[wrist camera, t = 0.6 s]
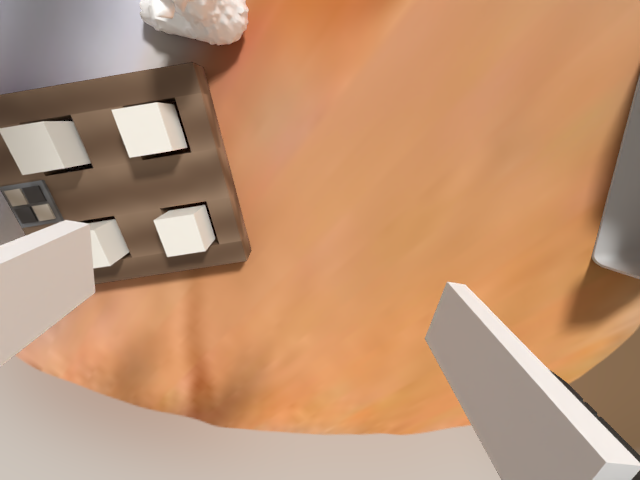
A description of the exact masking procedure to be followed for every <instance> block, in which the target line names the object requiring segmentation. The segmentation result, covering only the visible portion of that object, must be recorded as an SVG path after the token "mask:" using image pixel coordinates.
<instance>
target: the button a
mask: <svg viewBox="0 0 640 480" xmlns="http://www.w3.org/2000/svg"><path fill="white" fill-rule="evenodd" d="M0 133H1V135H2V137H3V139H4V141H5V143H6V145H7V147H8V148H9V150H10V152H11V154H12V156H13V158H14V160H15V162H16V164H17V166H18V168H19V169H20V171H21V173H22V175H27V174H33V173H39V172H45V171H51V170H58V169H64V168H69V167H74V166H79V165H85V164H90V163H91V161H90V159H89V157H88V154H87V152H86V150H85V147H84V145H83V143H82V140H81V138H80V136H79V133H78V131H77V129H76V126H75V124H74V122H73V121H42V122H36V123H30V124H24V125H18V126H12V127H6V128H0Z"/></svg>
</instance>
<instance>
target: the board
mask: <svg viewBox="0 0 640 480" xmlns="http://www.w3.org/2000/svg"><path fill="white" fill-rule="evenodd" d="M175 101H176V103H177V106H178V110H179V113H180V116H181V120H182V123H183V126H184V129H185V133H186V136H187V139H188V143H189V146H190V149H191V152H185V153H179V154H173V155H166V156H160V157H156V154H150V155H144V156H137V157H131V158H129V155H128V153H127V150H126V147H125V145H124V142H123V139H122V137H121V134H120V132H119V129H118V126H117V124H116V121H115V118H114V116H113V113H112V111H111V110H114V109H120V108H126V107H132V106H138V105H144V104H149V103H155V102H159V103H169V102H175ZM67 119H73V122H74V124H75V126H76V129H77V131H78V133H79V136H80V138H81V140H82V143H83V145H84V147H85V150H86V152H87V154H88V157H89V159H90V161H91V164H92V166H93V168H86V169H80V170H74V171H67V169H66V168H64V169H58V170H51V171H45V172H39V173H33V174H27V175H22V173H21V171H20V169H19V168H18V166H17V164H16V162H15V160H14V158H13V156H12V154H11V152H10V150H9V148H8V147H7V145H6V143H5V141H4V139H3V137H2V135H1V133H0V190H1V192H2V193H3V195H4V197H5V199H6V201H7V202H8V204H9V206H10V208H11V209H12V211H13V213H14V215H15V217H16V218H17V220H18V222H19V224H20V225H21V227H22V229H23V231H24V232H25V234H26V235H29V234H31V233H34V232H36V231H39V230H41V229H44V228H46V227H49V226H52V225H54V224H57V223H59V222H62V221H64V220H69V221H76V222H82V223H91V220H90V219H97V218H103V217H109V216H114V217H115V219H116V222H117V224H118V226H119V229H120V231H121V233H122V235H123V238H124V240H125V242H126V245H127V247H128V249H129V253H127V254H126V255H125V256H123V257H122V258H121V259H119V260H118V261H117V262H115V263H114V264H112V265H111V266H106V267H100V268H93V270H94V282H95V284H99V283H106V282H112V281H119V280H125V279H132V278H138V277H145V276H152V275H158V274H165V273H171V272H178V271H184V270H191V269H197V268H204V267H211V266H217V265H224V264H230V263H237V262H243V261H247V259H248V257H249V255H250V252H251V247H250V243H249V239H248V235H247V232H246V228H245V224H244V220H243V216H242V212H241V209H240V205H239V201H238V197H237V193H236V189H235V186H234V182H233V178H232V174H231V170H230V166H229V163H228V159H227V155H226V151H225V147H224V143H223V139H222V136H221V132H220V128H219V124H218V120H217V116H216V113H215V109H214V105H213V101H212V97H211V93H210V90H209V86H208V82H207V78H206V74H205V70H204V68H203V67H201V66H199V65H197V64H195V63H194V62H191V63H185V64H179V65H173V66H167V67H161V68H155V69H149V70H143V71H138V72H132V73H126V74H120V75H114V76H108V77H102V78H96V79H90V80H85V81H79V82H73V83H67V84H61V85H55V86H49V87H43V88H37V89H32V90H26V91H20V92H14V93H8V94H2V95H0V128H6V127H12V126H18V125H24V124H30V123H36V122H42V121H61V120H67ZM204 201H206V202H207V205H208V209H209V212H210V215H211V219H212V222H213V225H214V229H215V232H216V235H217V236H216V237H215V240H214V241H213V242H212V244H211V245H210V246H209V247H208V249H207V250H206V251H204V252H197V253H191V254H184V255H178V256H171V257H167V255H166V252H165V250H164V247H163V244H162V242H161V239H160V237H159V234H158V231H157V229H156V226H155V223H154V221H153V220H155V219H156V218H158V217H160V216H161V215H163V214H164V213H166V212H167V211H169V210H175V208H174V206H179V205H185V204H192V203H198V202H204Z"/></svg>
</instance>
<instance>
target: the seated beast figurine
mask: <svg viewBox="0 0 640 480" xmlns="http://www.w3.org/2000/svg"><path fill="white" fill-rule="evenodd" d="M140 8H141V10H142V11H141V12H140V16H141V18H142V20H143V21H144V22H146V23H147V24H148V25H150V26H152V27H154V28H155V30H157V31H164V32H166V33H167V34H177V35H179V36H183V37H186V38H190V39H197V40H199V41H204V42H208V43H210V44H211V45H214V44H217V45H225V44H228V45H229V44H231V43H233V42H236V41H238V40H239V39H240V38H241V35H242V34H243V32H244V31H245V30H246V29H247V24H248V19H247V17H248V15H247V14H248V10H249V9H248V8H247V6H246V0H141V2H140Z"/></svg>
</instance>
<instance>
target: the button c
mask: <svg viewBox="0 0 640 480" xmlns="http://www.w3.org/2000/svg"><path fill="white" fill-rule="evenodd" d="M111 111H112V113H113V116H114V118H115V121H116V124H117V126H118V129H119V132H120V134H121V137H122V139H123V142H124V145H125V147H126V150H127V153H128V155H129V158H131V157H137V156H144V155H150V154H156V153H162V152H168V151H174V150H179V149H183V148H188V147H187V144H186V141H185V137H184V134H183V131H182V127H181V124H180V121H179V118H178V114H177V111H176V108H175V105H174V104H167V103H159V102H155V103H149V104H144V105H138V106H132V107H126V108H120V109H114V110H111Z"/></svg>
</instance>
